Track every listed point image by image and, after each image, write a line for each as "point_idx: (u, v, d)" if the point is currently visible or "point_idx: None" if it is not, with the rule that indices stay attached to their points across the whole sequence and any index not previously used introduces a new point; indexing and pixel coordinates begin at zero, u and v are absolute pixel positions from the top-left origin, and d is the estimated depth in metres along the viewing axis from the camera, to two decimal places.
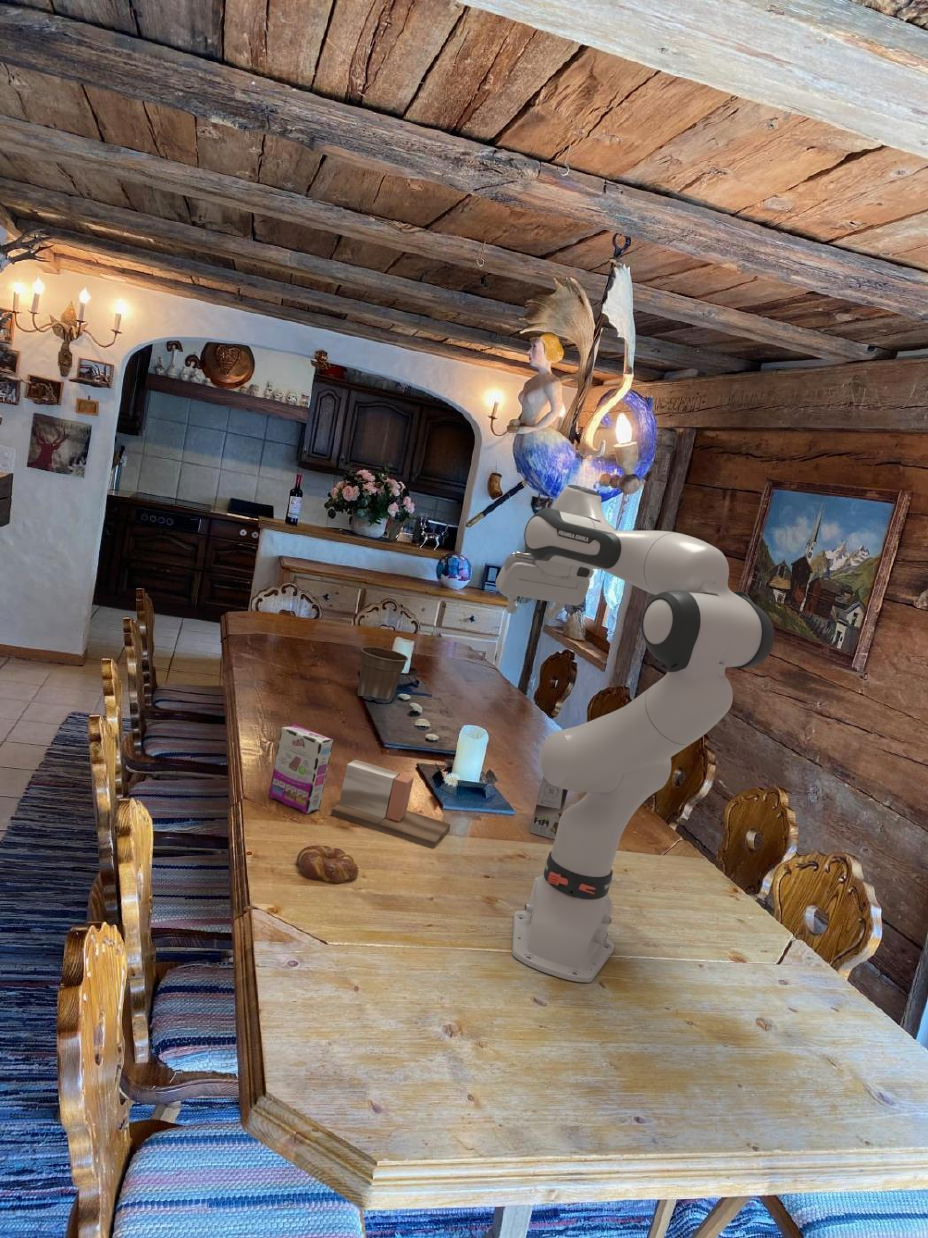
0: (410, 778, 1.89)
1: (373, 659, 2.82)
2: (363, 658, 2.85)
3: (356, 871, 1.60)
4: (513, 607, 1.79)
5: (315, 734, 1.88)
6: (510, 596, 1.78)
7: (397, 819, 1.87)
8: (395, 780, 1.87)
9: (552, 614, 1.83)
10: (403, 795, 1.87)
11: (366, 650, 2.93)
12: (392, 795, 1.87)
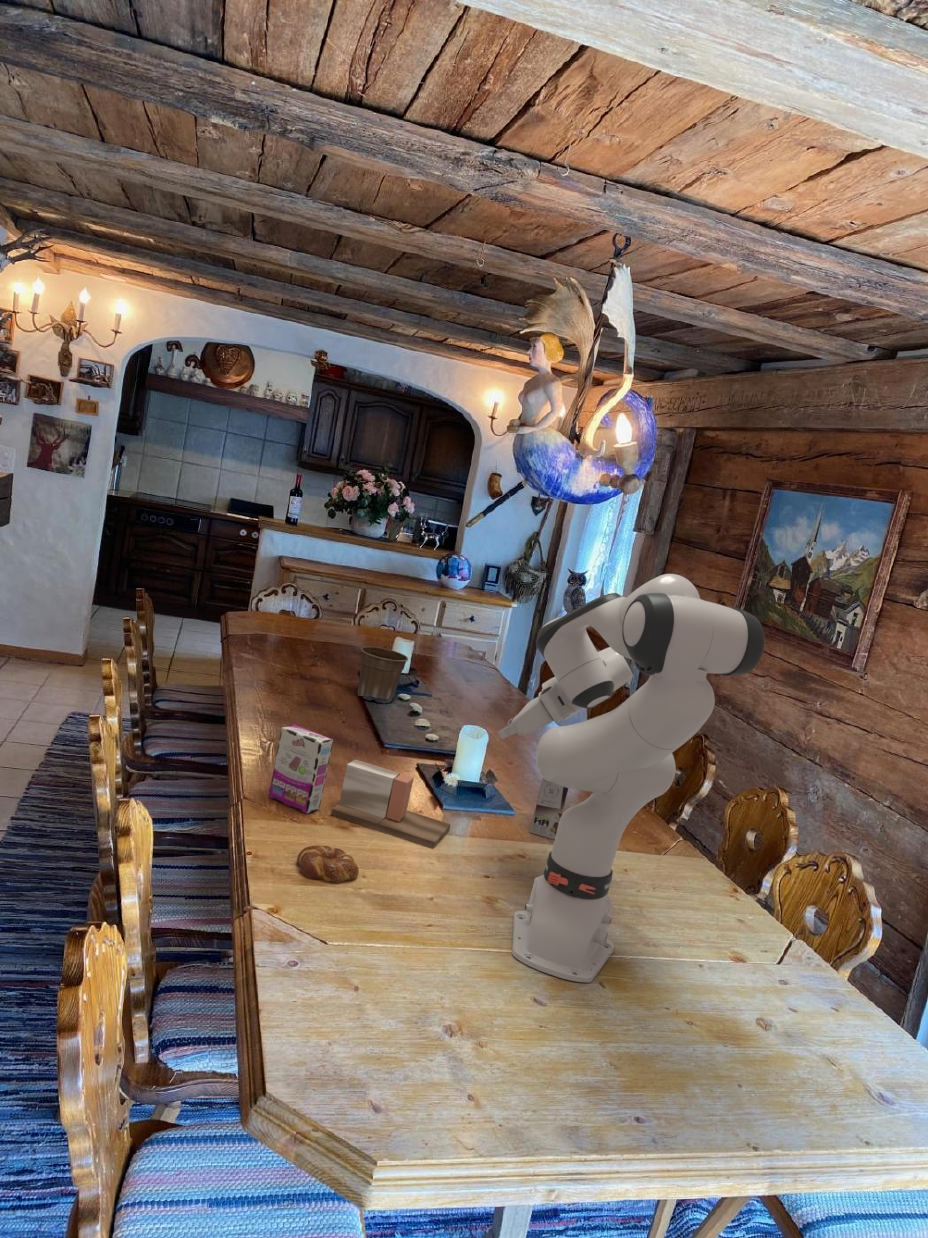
0: (410, 778, 1.89)
1: (373, 659, 2.82)
2: (363, 658, 2.85)
3: (356, 871, 1.60)
4: None
5: (315, 734, 1.88)
6: None
7: (397, 819, 1.87)
8: (395, 780, 1.87)
9: (504, 728, 1.77)
10: (403, 795, 1.87)
11: (366, 650, 2.93)
12: (392, 795, 1.87)
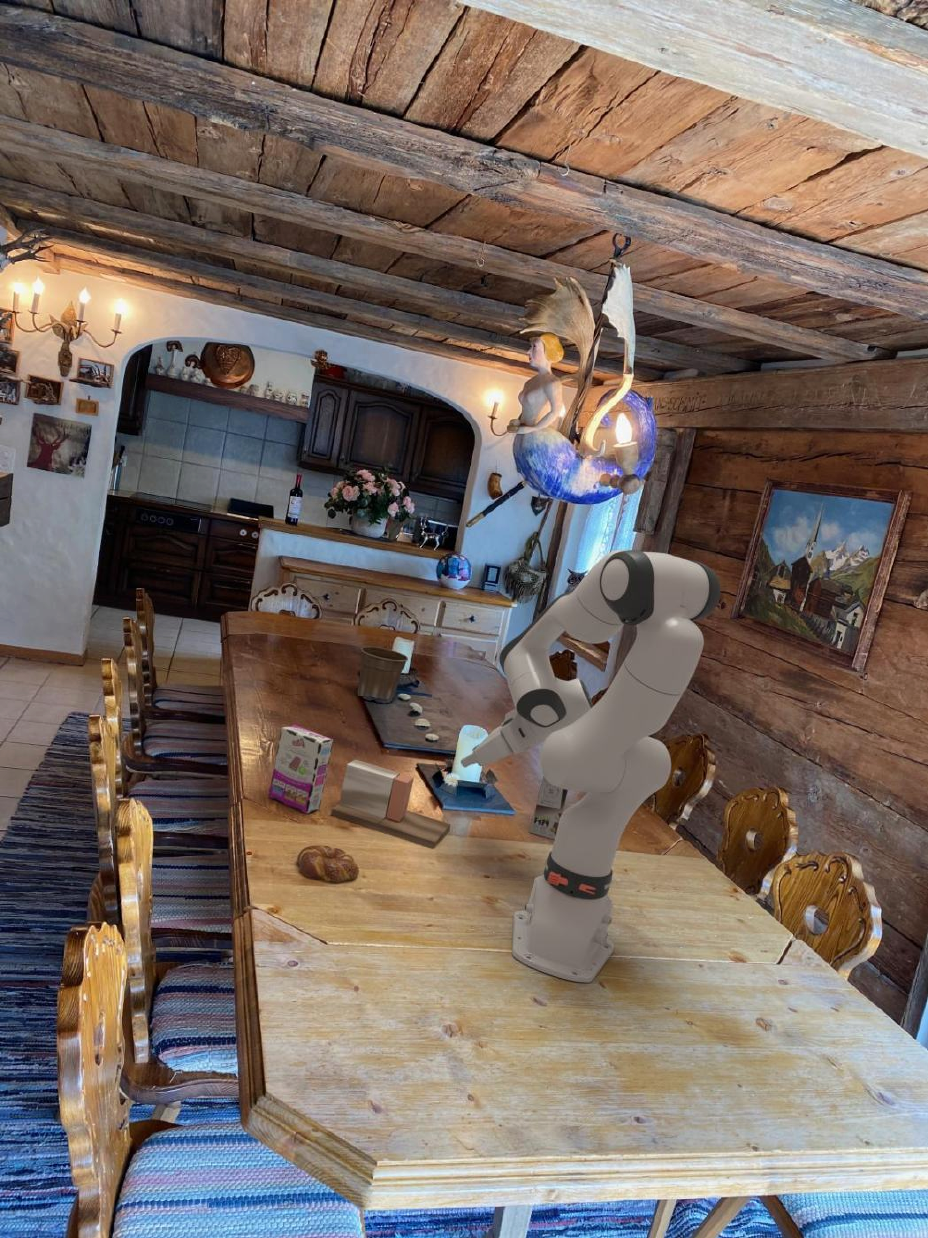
0: (410, 778, 1.89)
1: (373, 659, 2.82)
2: (363, 658, 2.85)
3: (356, 871, 1.60)
4: None
5: (315, 734, 1.88)
6: None
7: (397, 819, 1.87)
8: (395, 780, 1.87)
9: None
10: (403, 795, 1.87)
11: (366, 650, 2.93)
12: (392, 795, 1.87)
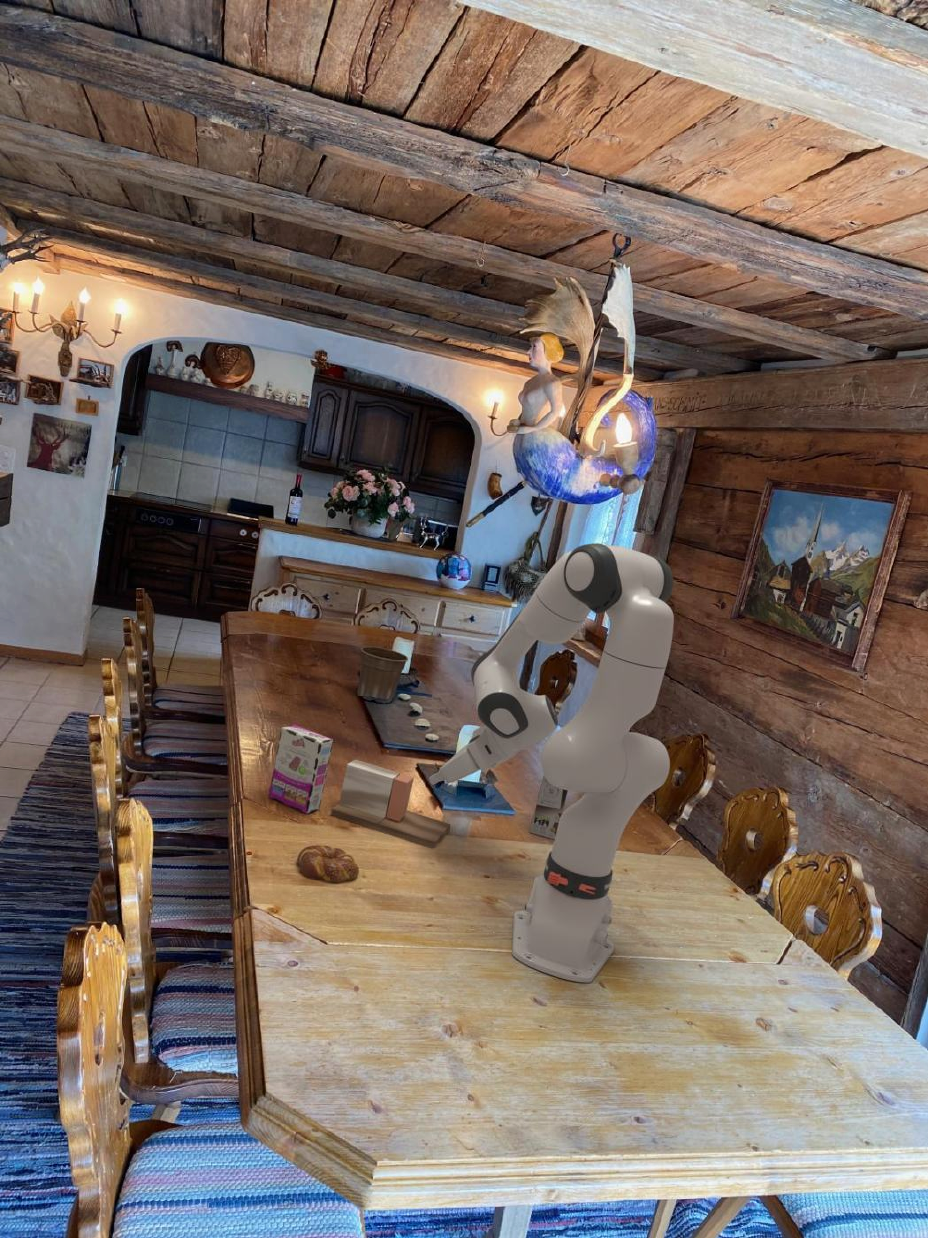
0: (410, 778, 1.89)
1: (373, 659, 2.82)
2: (363, 658, 2.85)
3: (356, 871, 1.60)
4: None
5: (315, 734, 1.88)
6: None
7: (397, 819, 1.87)
8: (395, 780, 1.87)
9: None
10: (403, 795, 1.87)
11: (366, 650, 2.92)
12: (392, 795, 1.87)
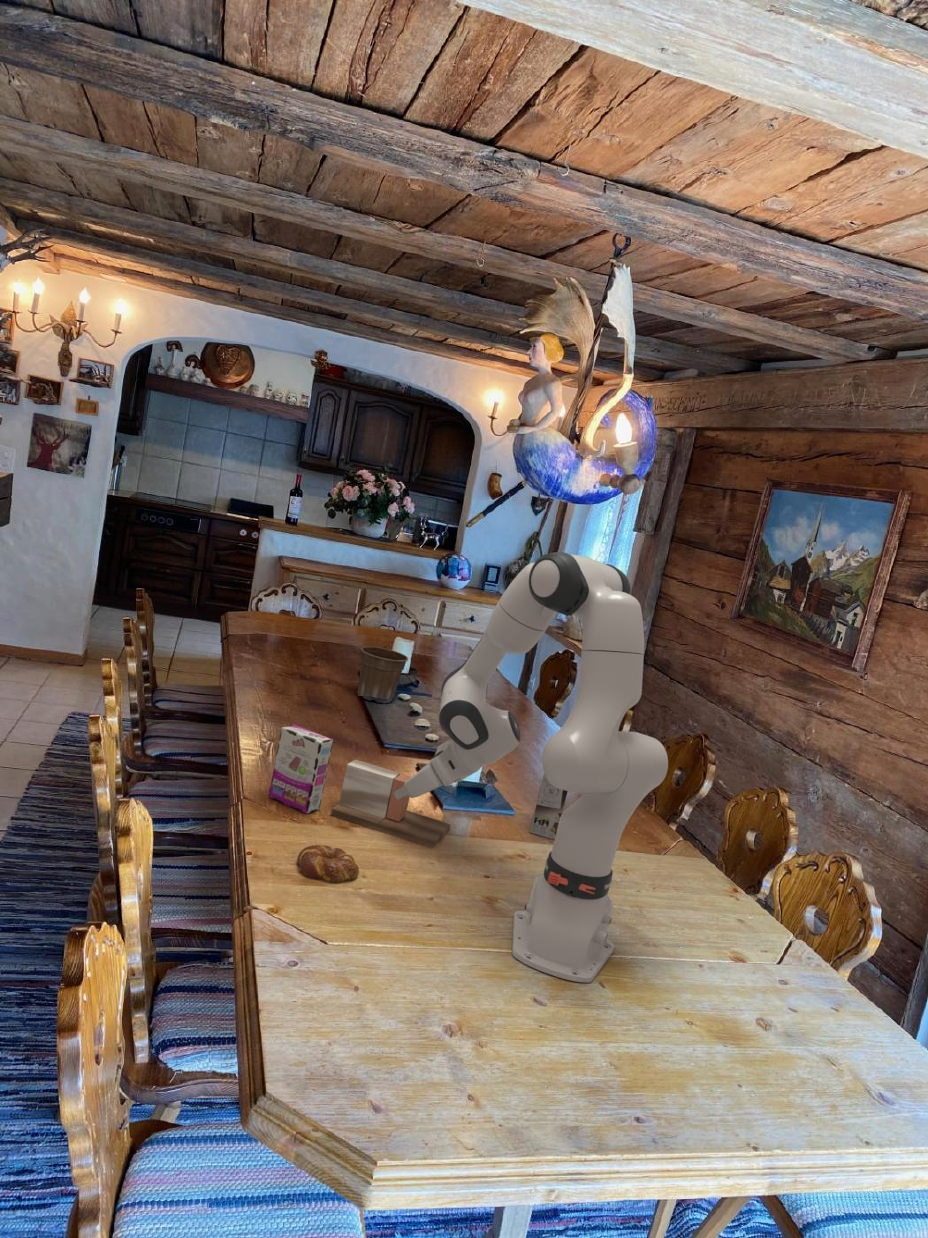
0: None
1: (373, 659, 2.82)
2: (363, 658, 2.85)
3: (356, 871, 1.60)
4: None
5: (315, 734, 1.88)
6: None
7: (397, 819, 1.87)
8: (395, 780, 1.87)
9: (400, 788, 1.84)
10: None
11: (366, 650, 2.93)
12: (392, 795, 1.87)
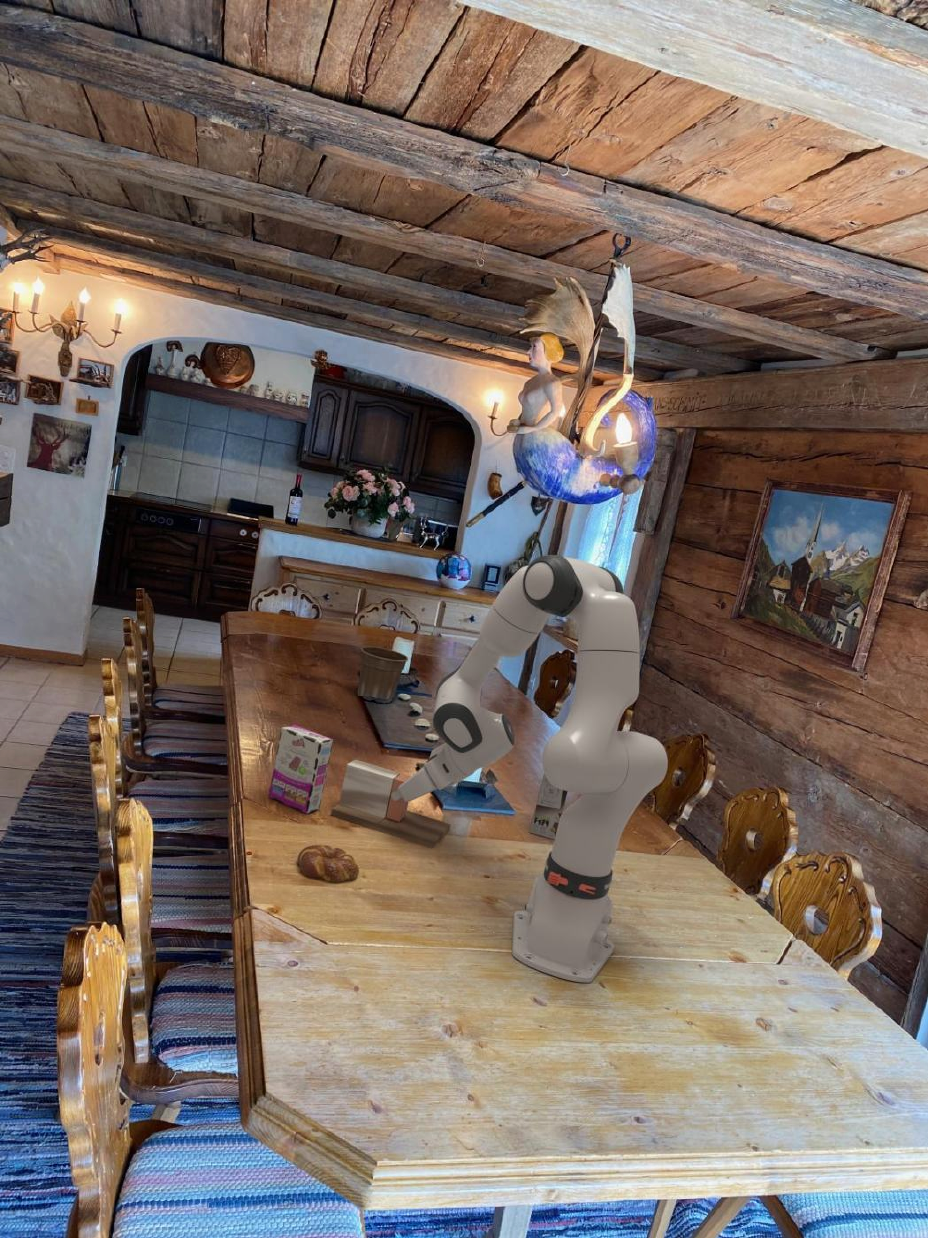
0: None
1: (373, 659, 2.82)
2: (363, 658, 2.85)
3: (356, 871, 1.60)
4: None
5: (315, 734, 1.88)
6: None
7: (397, 819, 1.87)
8: (395, 780, 1.87)
9: (397, 790, 1.86)
10: None
11: (366, 650, 2.93)
12: None
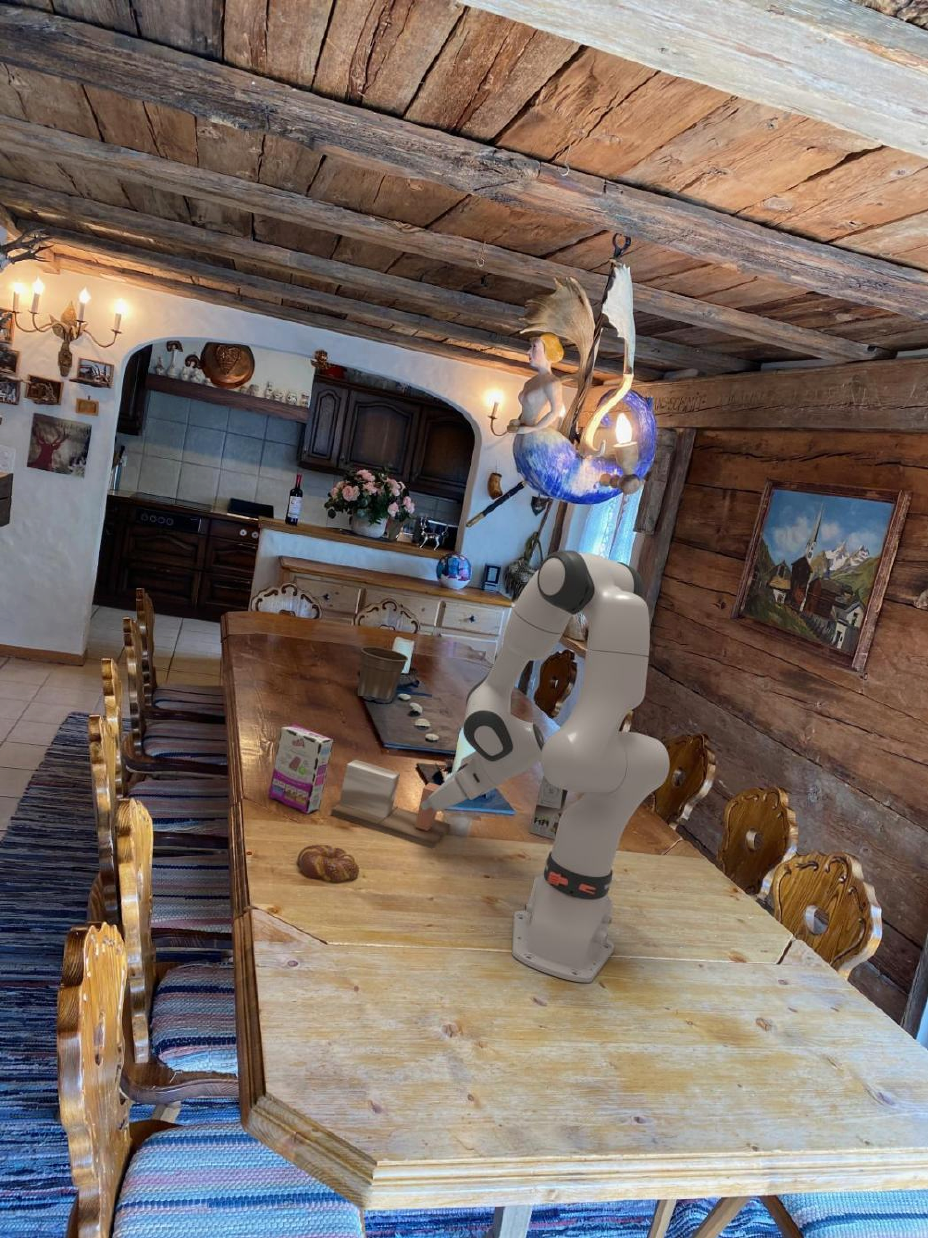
0: None
1: (373, 659, 2.82)
2: (363, 658, 2.85)
3: (357, 870, 1.60)
4: None
5: (315, 734, 1.88)
6: None
7: (426, 828, 1.86)
8: (424, 789, 1.85)
9: (426, 799, 1.84)
10: None
11: (366, 650, 2.93)
12: None
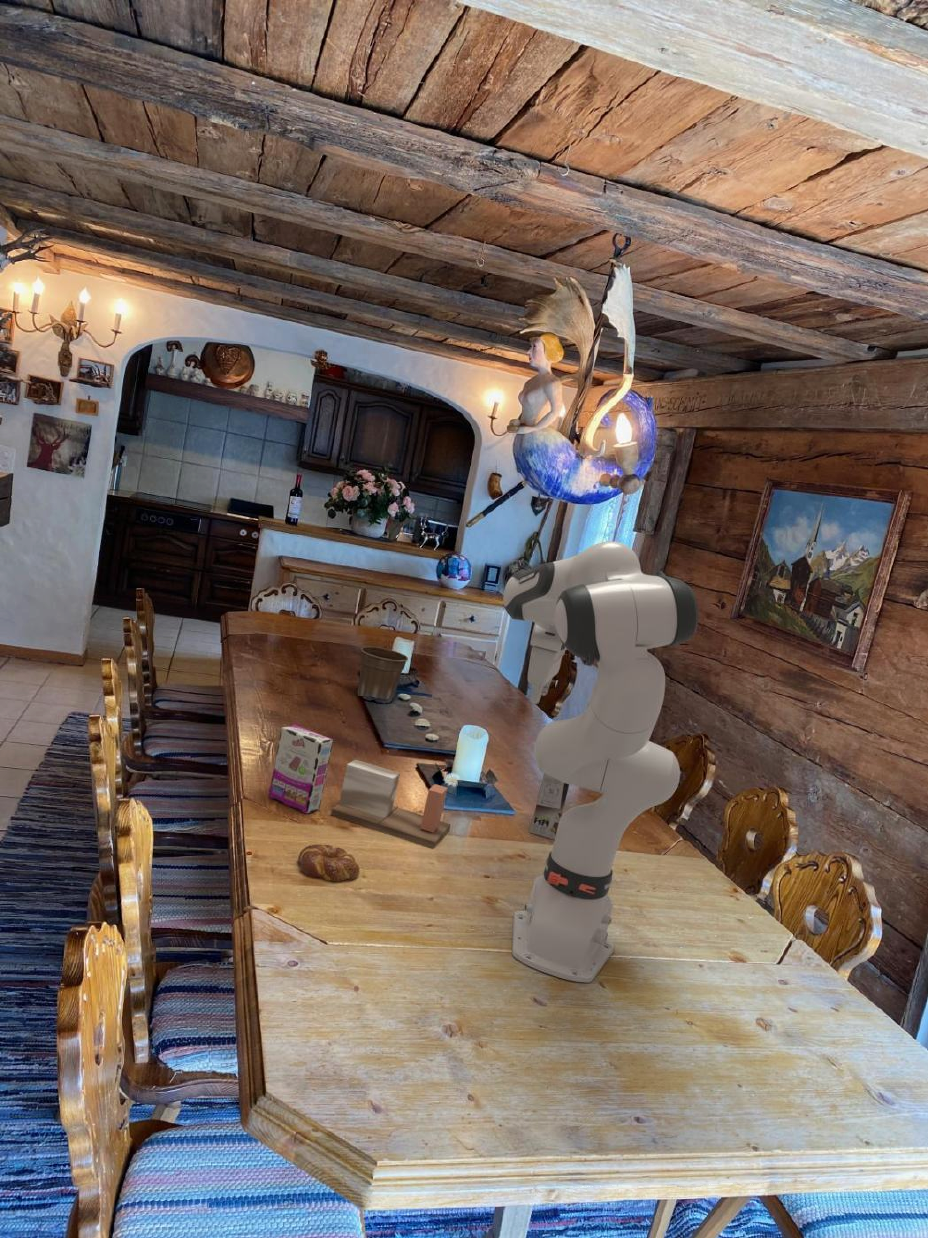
0: (444, 789, 1.87)
1: (373, 659, 2.82)
2: (363, 658, 2.85)
3: (357, 870, 1.61)
4: None
5: (315, 734, 1.88)
6: None
7: (431, 830, 1.86)
8: (429, 791, 1.85)
9: None
10: (438, 806, 1.85)
11: (366, 650, 2.93)
12: (426, 806, 1.85)
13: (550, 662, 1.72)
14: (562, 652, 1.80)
